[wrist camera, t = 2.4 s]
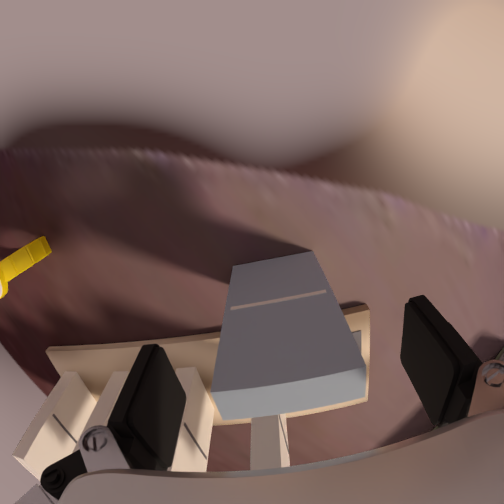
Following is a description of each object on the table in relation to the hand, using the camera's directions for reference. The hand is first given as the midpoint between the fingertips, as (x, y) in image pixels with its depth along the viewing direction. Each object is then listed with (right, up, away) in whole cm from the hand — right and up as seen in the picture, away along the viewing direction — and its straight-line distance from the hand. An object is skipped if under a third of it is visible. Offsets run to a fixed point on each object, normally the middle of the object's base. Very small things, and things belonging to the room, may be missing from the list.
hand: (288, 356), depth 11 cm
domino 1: (-18, -10, +13) cm, 24 cm away
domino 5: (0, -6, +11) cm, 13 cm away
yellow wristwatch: (-19, +4, +9) cm, 21 cm away
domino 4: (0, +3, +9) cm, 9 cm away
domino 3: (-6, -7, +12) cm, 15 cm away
